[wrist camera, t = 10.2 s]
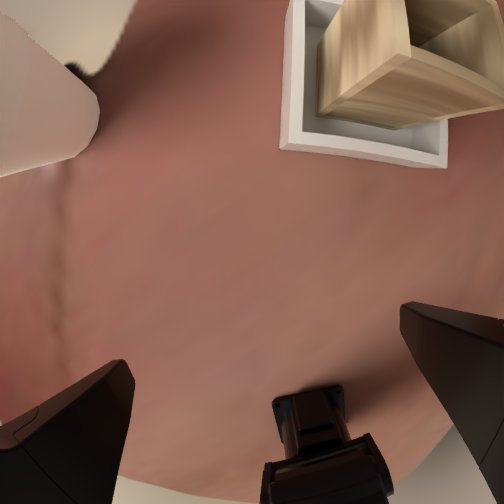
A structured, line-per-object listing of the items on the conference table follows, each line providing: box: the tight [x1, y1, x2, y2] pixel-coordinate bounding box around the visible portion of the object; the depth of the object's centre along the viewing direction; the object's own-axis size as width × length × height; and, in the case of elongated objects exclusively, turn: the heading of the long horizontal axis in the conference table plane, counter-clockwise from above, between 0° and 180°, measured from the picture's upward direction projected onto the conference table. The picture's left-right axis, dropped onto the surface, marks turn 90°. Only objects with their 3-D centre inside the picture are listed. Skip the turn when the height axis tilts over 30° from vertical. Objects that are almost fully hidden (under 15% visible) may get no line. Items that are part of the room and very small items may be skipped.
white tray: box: [279, 0, 448, 169], centre depth 16 cm, size 10×10×4 cm
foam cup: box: [0, 12, 100, 177], centre depth 12 cm, size 10×9×13 cm
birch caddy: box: [315, 0, 504, 130], centre depth 12 cm, size 6×6×12 cm
